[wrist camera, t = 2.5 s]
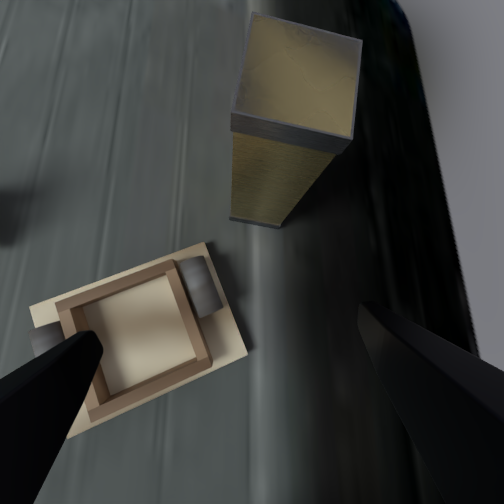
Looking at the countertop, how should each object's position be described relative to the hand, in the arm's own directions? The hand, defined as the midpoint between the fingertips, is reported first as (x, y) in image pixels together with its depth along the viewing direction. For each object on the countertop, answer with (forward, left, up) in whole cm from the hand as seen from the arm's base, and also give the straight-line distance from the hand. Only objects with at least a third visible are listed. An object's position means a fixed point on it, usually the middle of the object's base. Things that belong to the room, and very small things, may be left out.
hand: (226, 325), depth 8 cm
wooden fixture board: (+1, +7, -12) cm, 14 cm away
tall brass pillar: (+8, -6, -12) cm, 16 cm away
